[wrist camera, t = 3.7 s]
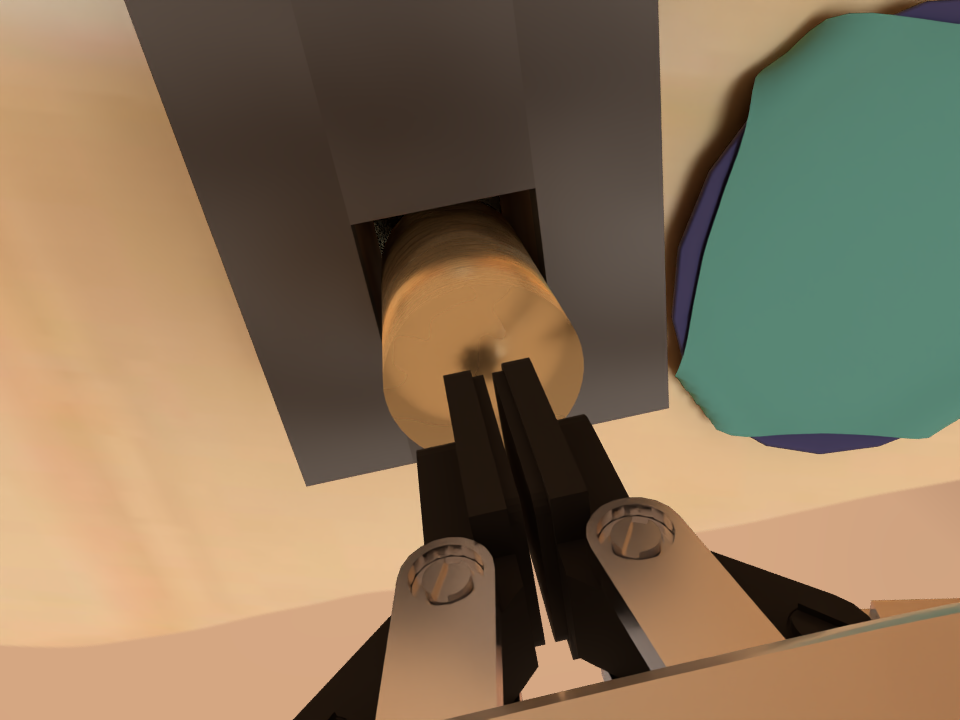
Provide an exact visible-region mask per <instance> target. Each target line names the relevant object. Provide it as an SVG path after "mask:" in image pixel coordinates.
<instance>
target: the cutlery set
mask: <svg viewBox="0 0 960 720" xmlns="http://www.w3.org/2000/svg"><path fill="white" fill-rule="evenodd" d="M672 321H673V325H674V329H675V332H676V336H677V340H678V344H679V348H680V352H681V355H682V361H681V364H680V366H679V369H678V371H677V373H676V375H675V377H677V378H678V379H679V381H680V382H681V384H682V385H683V387H684V388H685V390H686V391H689V393H690V395H691V396H692V398H693V399H694V401H695V402H696V404H698V405H699V406H700V407H701V409H702V410H703V412H704V414H705V415H706V417H708V418H709V419H710V421H711V422H712V424H713V425H714V427H715V428H716V430H719V431H722V432H724V433H727V434H729V435H733V436H743V437H751V438H753V439H755V440H757V441H758V442H760V443H762V444H764V445H765V446H771V447H777V448H783V449H790V450H796V451H803V452H809V453H815V454H825V453H833V452H840V451H848V450H855V449H863V448H870V447H878V446H881V445H884V444H886V443H889V442H891V441H894V440H897V439H899V438H910V439H921V438H929V437H931V436H932V435H934V434H935V433H937V432H938V431H940V430H942V429H943V428H945V427H946V426H948V425H950V424H951V423H953V422H955V421H956V420H958V419H960V0H939V1H927V2H923V3H920V4H918V5H915V6H913V7H911V8H908V9H906V10H904V11H901V12H899V13H897V14H894V15H888V14H878V13H849V14H845V15H841V16H837V17H833V18H829V19H826V20H824V21H823V22H822V23H820V24H819V25H817V26H816V27H815V28H813V29H812V30H810V31H809V32H808V33H807V34H806V35H805V36H803V37H802V38H801V39H800V40H799V41H798V42H797V43H796V44H795V45H794V46H793V47H792V48H791V49H790V50H789V51H788V52H787V53H786V54H784V55H783V56H781V57H780V58H779V59H777V60H776V61H774V62H773V63H771V64H770V65H769V66H767V67H766V68H764V69H763V70H762V71H761V72H760V73H759V74H758V75H757V76H756V78H755V82H754V86H753V91H752V97H751V104H750V111H749V116H748V120H747V121H746V122H745V124H744V125H743V126H742V128H741V129H740V130H739V132H738V133H737V134H736V136H735V137H734V138H733V140H732V141H731V142H730V144H729V145H728V146H727V148H726V149H725V150H724V152H723V153H722V154H721V156H720V157H719V158H718V160H717V161H716V162H715V164H714V165H713V166H712V168H711V169H710V170H709V172H708V174H707V177H706V179H705V182H704V184H703V187H702V189H701V192H700V194H699V197H698V199H697V202H696V204H695V207H694V209H693V211H692V214H691V216H690V219H689V221H688V224H687V226H686V229H685V231H684V234H683V236H682V239H681V241H680V244H679V246H678V252H677V263H676V274H675V285H674V295H673V306H672Z"/></svg>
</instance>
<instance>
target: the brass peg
mask: <svg viewBox="0 0 960 720" xmlns="http://www.w3.org/2000/svg"><path fill="white" fill-rule="evenodd" d="M381 287H382V360H383V390H384V395H385V400H386V403H387V406H388V409H389V411H390V413H391V415H392V417H393V419H394V421H395V422H396V423H397V425H398V426H399V427H400V429H401V430H402V431H403V432H404V433H405V434H406V435H407V436H408V437H409V438H410V439H411V440H413V441H414V442H415V443H417V444H418V445H419V446H421V447H423V448H424V449H425V448H429V447H434V446H438V445H443V444H448V443H452V442H455V440H454V435H453V429H452V424H451V418H450V413H449V407H448V402H447V396H446V391H445V385H444V379H443V375H448V374H453V373H457V372H462V371H467V370H471V373H472V377H474V376H479V375H483V376H484V379H485V383H486V386H487V389H488V393H489V396H490V400H491V403H492V407H493V410H494V413H495V417H496V420H497V424H498V427H499V430H500V434H501V437H502V441H503V444H504V440H503V435H502V429H501V423H500V418H499V412H498V407H497V401H496V396H495V390H494V384H493V379H492V373H493V372H498V371H502V369H501V363H504V362H509V361H514V360H518V359H523V358H528V357H529V358H530V360H531V362H532V364H533V367H534V369H535V371H536V373H537V376H538V378H539V380H540V382H541V385H542V387H543V389H544V392H545V394H546V396H547V398H548V401H549V403H550V405H551V407H552V410H553V412H554V414H555V417H556V419H557V420H558V419H563V418H566V416H567V415H568V414H569V412H570V411H571V409H572V407H573V405H574V404H575V402H576V399H577V397H578V394H579V392H580V388H581V384H582V380H583V372H584V358H583V352H582V347H581V344H580V341H579V338H578V335H577V333H576V332H575V330H574V328H573V326H572V324H571V322H570V321H569V319H568V318H567V316H566V314H565V313H564V311H563V309H562V308H561V306H560V304H559V303H558V301H557V300H556V298H555V296H554V295H553V293H552V291H551V290H550V288H549V286H548V285H547V283H546V282H545V280H544V278H543V277H542V275H541V273H540V272H539V270H538V268H537V267H536V265H535V264H534V262H533V260H532V259H531V257H530V255H529V254H528V252H527V250H526V249H525V247H524V246H523V244H522V242H521V241H520V239H519V237H518V236H517V234H516V233H515V231H514V229H513V228H512V226H511V225H510V224H509V222H508V221H507V220H506V219H505V218H504V217H503V216H502V215H501V214H500V213H499V212H497V211H496V210H495V209H493V208H492V207H490V206H488V205H486V204H484V203H482V202H479V201H477V200H473V201H468V202H463V203H458V204H453V205H448V206H443V207H438V208H433V209H428V210H423V211H418V212H413V213H408V214H406V215H405V216H404V217H403V218H402V219H401V220H400V221H399V222H398V223H397V224H396V226H395V227H394V228H393V230H392V231H391V233H390V235H389V237H388V238H387V241H386V244H385V246H384V250H383V254H382V261H381ZM504 448H505V446H504Z"/></svg>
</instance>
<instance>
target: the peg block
mask: <svg viewBox="0 0 960 720" xmlns="http://www.w3.org/2000/svg"><path fill="white" fill-rule="evenodd" d="M124 1H125V4H126V7H127V9H128V12H129V15H130V17H131V20H132V23H133V25H134V28H135V31H136V33H137V36H138V39H139V41H140V44H141V47H142V49H143V52H144V55H145V57H146V60H147V63H148V65H149V68H150V71H151V73H152V76H153V79H154V81H155V84H156V87H157V89H158V92H159V95H160V97H161V100H162V103H163V105H164V108H165V111H166V113H167V116H168V119H169V121H170V124H171V127H172V129H173V132H174V135H175V137H176V140H177V143H178V145H179V148H180V151H181V153H182V156H183V159H184V161H185V164H186V167H187V169H188V172H189V175H190V177H191V180H192V183H193V185H194V188H195V191H196V193H197V196H198V199H199V201H200V204H201V207H202V209H203V212H204V215H205V217H206V220H207V223H208V225H209V228H210V231H211V233H212V236H213V239H214V241H215V244H216V247H217V249H218V252H219V255H220V257H221V260H222V263H223V265H224V268H225V271H226V273H227V276H228V279H229V281H230V284H231V287H232V289H233V292H234V295H235V297H236V300H237V303H238V305H239V308H240V311H241V313H242V316H243V319H244V321H245V324H246V327H247V329H248V332H249V335H250V337H251V340H252V343H253V345H254V348H255V351H256V353H257V356H258V358H259V361H260V364H261V366H262V369H263V372H264V374H265V377H266V380H267V382H268V385H269V388H270V390H271V393H272V396H273V398H274V401H275V404H276V406H277V409H278V412H279V414H280V417H281V420H282V422H283V425H284V428H285V430H286V433H287V436H288V438H289V441H290V444H291V446H292V449H293V452H294V454H295V457H296V460H297V462H298V465H299V468H300V470H301V473H302V476H303V478H304V481H305V484H306V486H311V485H316V484H320V483H325V482H329V481H334V480H339V479H343V478H348V477H353V476H357V475H362V474H366V473H371V472H376V471H380V470H385V469H390V468H394V467H399V466H403V465H408V464H413V463H417V457H416V451H417V450H420V449H424V448H423V447H421V446H419V445H418V444H417V443H415V442H414V441H413V440H411V439H410V438H409V437H408V436H407V435H406V434H405V433H404V432H403V431H402V430H401V429H400V427H399V426H398V425H397V423H396V422H395V421H394V419H393V417H392V415H391V413H390V411H389V409H388V406H387V403H386V400H385V395H384V390H383V360H382V287H381V261H382V256H381V252H380V248H379V244H378V240H377V236H376V232H375V228H374V224H373V220H378V219H383V218H388V217H393V216H398V215H403V214H408V213H413V212H418V211H423V210H428V209H433V208H438V207H443V206H448V205H453V204H458V203H463V202H468V201H473V200H478V199H483V198H488V197H493V196H498V195H499V196H500V203H501V210H502V216H503V217H504V218H505V219H506V220H507V221H508V222H509V224H510V225H511V226H512V228H513V229H514V231H515V233H516V234H517V236H518V237H519V239H520V241H521V242H522V244H523V246H524V247H525V249H526V250H527V252H528V254H529V255H530V257H531V259H532V260H533V262H534V264H535V265H536V267H537V268H538V270H539V272H540V273H541V275H542V277H543V278H544V280H545V282H546V283H547V285H548V286H549V288H550V290H551V291H552V293H553V295H554V296H555V298H556V300H557V301H558V303H559V304H560V306H561V308H562V309H563V311H564V313H565V314H566V316H567V318H568V319H569V321H570V322H571V324H572V326H573V328H574V330H575V332H576V333H577V335H578V338H579V341H580V344H581V347H582V352H583V358H584V372H583V380H582V384H581V388H580V392H579V394H578V397H577V399H576V402H575V404H574V405H573V407H572V409H571V411H570V412H569V414H568V415H567V416H566V418H568V417H572V416H577V415H581V414H585V415H586V416H587V417H588V419H589V421H590V423H591V425H593V424H598V423H602V422H607V421H611V420H616V419H621V418H625V417H630V416H635V415H639V414H644V413H648V412H653V411H658V410H662V409H667V408H669V395H668V358H667V320H666V282H665V245H664V207H663V170H662V132H661V95H660V57H659V19H658V0H124Z"/></svg>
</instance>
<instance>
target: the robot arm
mask: <svg viewBox="0 0 960 720" xmlns="http://www.w3.org/2000/svg"><path fill="white" fill-rule="evenodd" d="M501 369H502V371H498V372H493V373H492V379H493V384H494V390H495V396H496V401H497V407H498V412H499V418H500V423H501V429H502V435H503V440H504V444H503V441H502V437H501V434H500V430H499V427H498V424H497V420H496V417H495V413H494V410H493V407H492V403H491V400H490V396H489V393H488V389H487V386H486V383H485V379H484V376H483V375H479V376H474V377H472V373H471V370H467V371H462V372H457V373H453V374H448V375H443V379H444V385H445V391H446V396H447V402H448V407H449V413H450V418H451V424H452V429H453V435H454V440H455V442H452V443H448V444H443V445H438V446H434V447H429V448H425V449H420V450H417V451H416V457H417V468H418V480H419V491H420V502H421V513H422V524H423V535H424V546H421V547H420V548H419V549H417V550H416V551H415V552H413V553H412V554H411V555H410V556H409V557H408V558H407V560H406V561H405V562H404V564H403V565H402V566H401V568H400V571H399V574H398V577H397V582H396V588H395V596H394V601H393V608H392V615H391V616H390V617H389V618H388V619H387V620H386V621H385V622H384V623H383V624H382V625H381V626H380V628H379V629H378V630H377V631H376V632H375V633H374V634H373V635H372V636H371V637H370V638H369V639H368V640H367V641H366V642H365V644H364V645H363V646H362V647H361V648H360V649H359V650H358V651H357V652H356V653H355V654H354V655H353V656H352V657H351V659H350V660H349V661H348V662H347V663H346V664H345V665H344V666H343V667H342V668H341V669H340V670H339V671H338V672H337V673H336V674H335V676H334V677H333V678H332V679H331V680H330V681H329V682H328V683H327V684H326V685H325V686H324V687H323V688H322V689H321V691H319V693H318V694H317V695H316V696H315V697H314V698H313V699H312V700H311V701H310V702H309V703H308V704H307V705H306V707H305V708H304V709H303V710H302V711H301V712H300V713H299V714H298V715H297V716H296V717H295V718H294V719H293V720H960V598H953V599H911V600H872V601H871V606H870V609H859V608H858V607H857V606H855V605H854V604H852V603H851V602H848V601H846V600H844V599H842V598H840V597H838V596H836V595H833V594H830V593H828V592H825V591H822V590H819V589H816V588H813V587H811V586H808V585H805V584H802V583H800V582H797V581H794V580H791V579H788V578H785V577H782V576H780V575H777V574H774V573H771V572H768V571H766V570H763V569H760V568H757V567H754V566H751V565H749V564H746V563H743V562H740V561H738V560H735V559H732V558H729V557H726V556H723V555H720V554H717V553H715V552H712V551H710V550H709V549H708V548H707V547H706V546H705V545H704V543H703V542H702V541H701V540H700V539H699V538H698V536H696V534H695V533H694V532H693V531H692V529H691V528H690V527H689V526H688V525H687V524H686V522H685V521H684V520H683V519H682V518H681V517H680V515H678V514H677V513H676V512H675V511H674V510H673V509H671V508H670V507H669V506H667V505H665V504H663V503H660V502H658V501H656V500H651V499H647V498H642V497H629V496H628V494H627V492H626V490H625V488H624V486H623V484H622V482H621V481H620V479H619V477H618V475H617V473H616V471H615V469H614V467H613V465H612V463H611V461H610V459H609V457H608V455H607V454H606V452H605V450H604V448H603V446H602V444H601V442H600V440H599V438H598V436H597V434H596V432H595V430H594V428H593V426H592V425H591V423H590V421H589V419H588V417H587V416H586V415H585V414H581V415H577V416H572V417H568V418H563V419H558V420H557V419H556V417H555V414H554V412H553V410H552V407H551V405H550V403H549V401H548V398H547V396H546V394H545V392H544V389H543V387H542V385H541V382H540V380H539V378H538V376H537V373H536V371H535V369H534V367H533V364H532V362H531V360H530V358H529V357H528V358H523V359H518V360H514V361H509V362H504V363H501ZM504 446H505V448H504ZM529 551H530V552H529ZM530 555H531V558H532V562H533V565H534V569H535V572H536V576H537V580H538V583H539V586H540V590H541V594H542V597H543V601H544V604H545V608H546V612H547V615H548V619H549V622H550V626H551V629H552V633H553V636H554V639H555V641H556V642H558V641H562V640H567V641H568V644H569V647H570V651H571V654H572V657H573V660H575V659H579V658H582V659H583V660H585V661H587V662H589V663H591V664H593V665H595V666H597V667H599V668H601V671H602V676H603V679H604V682H600V683H596V684H593V685H588V686H584V687H579V688H575V689H571V690H567V691H562V692H559V693H554V694H550V695H546V696H541V697H537V698H533V699H529V700H524V701H523V699H522V694H521V691H522V689H523V688H524V686H525V685H526V684H527V682H528V681H529V679H530V678H531V676H532V675H533V673H534V672H535V671H536V669H537V668H538V661H537V656H536V651H535V647H536V646H541V645H545V640H544V633H543V627H542V622H541V616H540V610H539V604H538V598H537V592H536V586H535V581H534V575H533V569H532V563H531V558H530Z"/></svg>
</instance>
